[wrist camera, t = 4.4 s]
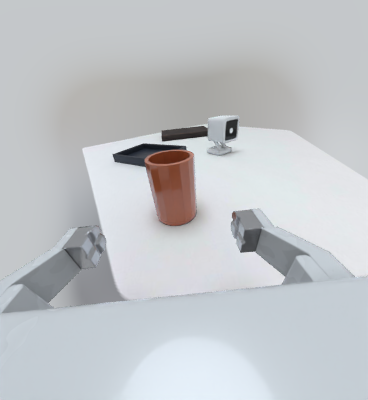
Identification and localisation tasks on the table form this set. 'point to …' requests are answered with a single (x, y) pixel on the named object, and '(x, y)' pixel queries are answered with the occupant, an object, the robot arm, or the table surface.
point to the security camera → (222, 133)
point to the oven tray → (142, 153)
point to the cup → (173, 185)
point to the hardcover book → (184, 133)
